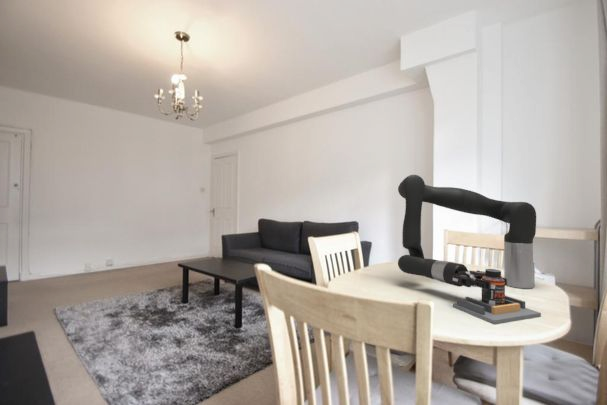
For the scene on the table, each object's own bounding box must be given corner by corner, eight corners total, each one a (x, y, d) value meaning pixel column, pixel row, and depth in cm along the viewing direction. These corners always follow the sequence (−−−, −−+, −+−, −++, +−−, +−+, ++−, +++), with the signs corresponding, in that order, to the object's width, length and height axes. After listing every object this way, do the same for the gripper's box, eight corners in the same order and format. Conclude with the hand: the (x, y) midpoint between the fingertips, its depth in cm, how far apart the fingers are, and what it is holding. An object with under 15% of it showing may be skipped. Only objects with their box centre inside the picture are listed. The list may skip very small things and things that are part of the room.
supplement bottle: (497, 312, 84) (497, 273, 84) (477, 305, 90) (477, 269, 90) (509, 308, 87) (509, 270, 87) (488, 302, 92) (488, 267, 92)
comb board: (495, 300, 97) (495, 292, 97) (540, 316, 84) (540, 305, 84) (452, 306, 92) (452, 297, 92) (494, 324, 78) (494, 313, 78)
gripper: (435, 263, 98) (484, 274, 84) (461, 260, 105) (511, 268, 90) (435, 286, 98) (484, 300, 83) (461, 280, 104) (511, 293, 90)
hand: (498, 283), depth 87 cm, fingers open, 8 cm apart
